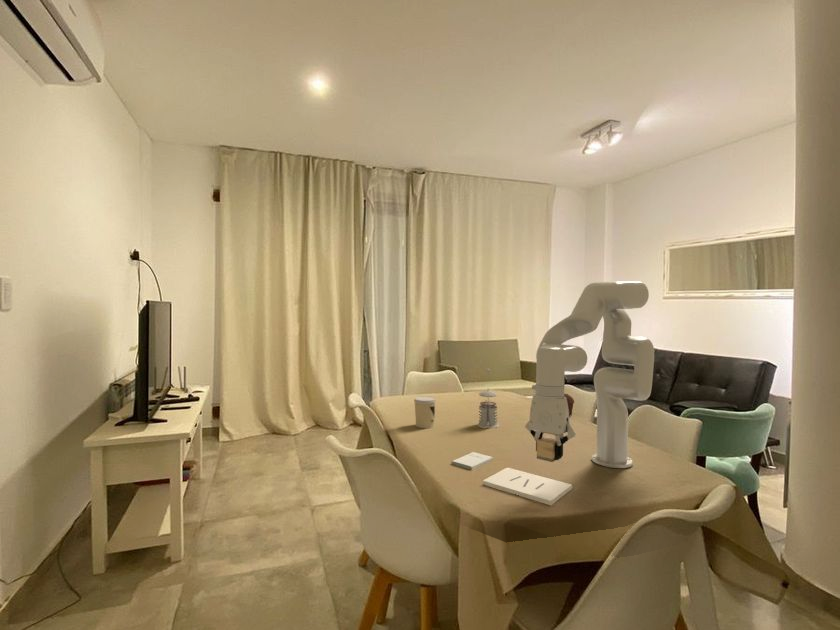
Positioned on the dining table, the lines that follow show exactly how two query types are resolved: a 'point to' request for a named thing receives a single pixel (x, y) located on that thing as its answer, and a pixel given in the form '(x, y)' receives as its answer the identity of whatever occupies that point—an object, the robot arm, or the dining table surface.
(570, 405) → the muffin
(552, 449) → the block
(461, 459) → the external hard drive
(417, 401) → the coffee cup
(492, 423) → the french press
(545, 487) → the board
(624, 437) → the robot arm
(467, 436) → the dining table surface
